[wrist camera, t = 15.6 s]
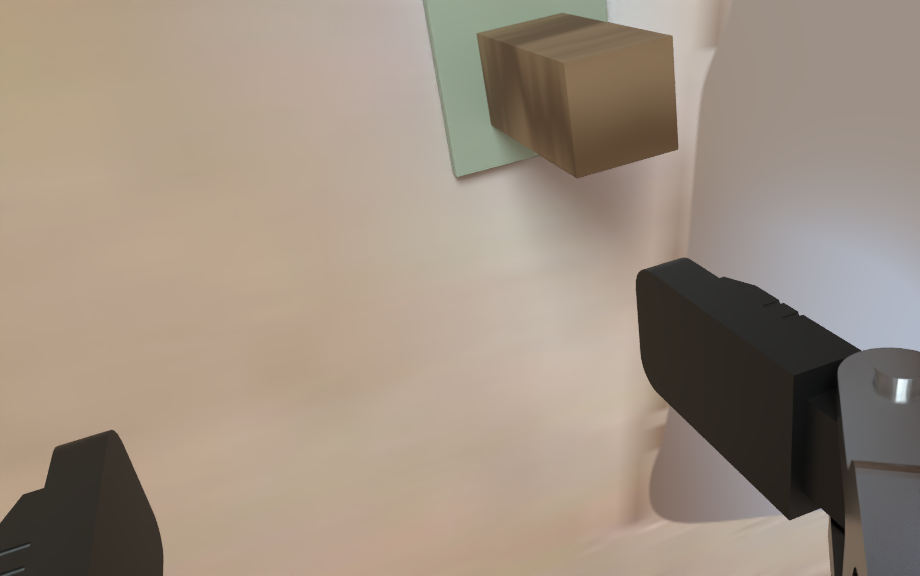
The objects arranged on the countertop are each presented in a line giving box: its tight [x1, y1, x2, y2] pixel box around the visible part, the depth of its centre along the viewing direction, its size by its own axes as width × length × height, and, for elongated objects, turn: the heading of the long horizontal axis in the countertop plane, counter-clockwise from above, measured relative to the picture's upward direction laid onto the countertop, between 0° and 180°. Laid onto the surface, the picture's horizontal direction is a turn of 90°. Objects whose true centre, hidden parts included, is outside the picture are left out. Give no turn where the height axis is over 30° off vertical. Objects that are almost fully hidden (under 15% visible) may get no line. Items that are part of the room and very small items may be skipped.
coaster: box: [423, 0, 608, 177], centre depth 40 cm, size 9×9×1 cm
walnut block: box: [476, 13, 678, 178], centre depth 35 cm, size 4×4×10 cm
